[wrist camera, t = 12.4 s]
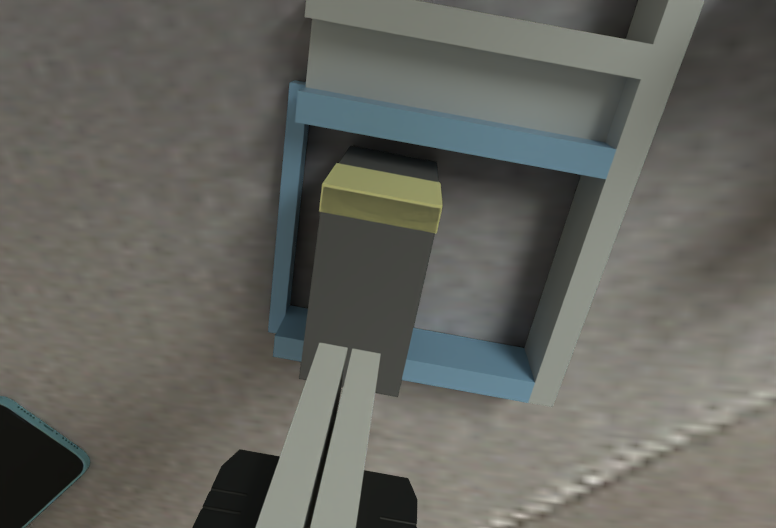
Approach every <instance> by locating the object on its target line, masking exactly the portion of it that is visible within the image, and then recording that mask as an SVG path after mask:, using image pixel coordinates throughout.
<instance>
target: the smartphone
mask: <svg viewBox="0 0 776 528" xmlns="http://www.w3.org/2000/svg"><path fill="white" fill-rule="evenodd" d="M89 465H90V459H89V456H88V455H87V454H86V453H85V452H84V451H83V450H82V449H81V448H79V447H78V446H76V445H75V444H74V443H72V442H71V441H69V440H68V439H67V438H65V437H64V436H62V435H61V434H60V433H58V432H57V431H55V430H54V429H53V428H51V427H50V426H48V425H47V424H46V423H44V422H43V421H41V420H40V419H39V418H37V417H36V416H34V415H33V414H31V413H30V412H29V411H27V410H26V409H24V408H23V407H21V406H20V405H19V404H17V403H16V402H14V401H13V400H11V399H9V398H7V397H4V396H0V528H25V527H26V526H27V525H28V524H29V523H30V522H31V521H33V520H34V519H35V518H36V517H37V516H38V515H39V514H40V513H41V512H42V511H44V510H45V509H46V508H47V507H48V506H49V505H50V504H51V503H52V502H53V501H55V500H56V499H57V498H58V497H59V496H60V495H61V494H62V493H63V492H64V491H66V490H67V489H68V488H69V487H70V486H71V485H72V484H73V483H74V482H75V481H76V480H78V479H79V478H80V477H81V476H82V475H83V474H84V472H85V471H86V470H87V468H88V467H89Z"/></svg>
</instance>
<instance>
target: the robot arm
mask: <svg viewBox="0 0 776 528" xmlns="http://www.w3.org/2000/svg"><path fill="white" fill-rule="evenodd" d="M347 350H348V348H347V347H341V346H336V345H330V344H325V343H319V345H318V348H317V351H316V354H315V357H314V360H313V363H312V366H311V369H310V371H309V374H308V377H307V380H306V383H305V386H304V389H303V392H302V395H301V397H300V400H299V403H298V406H297V409H296V412H295V415H294V418H293V421H292V423H291V426H290V429H289V432H288V435H287V438H286V441H285V444H284V447H283V450H282V452H281V455H280V457H279V456H274V455H268V454H263V453H257V452H251V451H246V450H239V451H238V452H236V453H235V454H234V455H233V456H232V457H231V458H230V459H229V460H228V461H227V462H225V463H224V464H223V465H222V466H221V468H220V471H219V473H218V475H217V477H216V479H215V481H214V483H213V485H212V488H211V491H210V492H209V494H208V496H207V498H206V500H205V502H204V504H203V508H202V509H201V511H200V513H199V515H198V517H197V519H196V521H195V523H194V526H193V528H417V527H416V524H417V498H416V495H415V493H414V491H413V488H412V486H411V484H410V481H409V479H408V478H404V477H398V476H393V475H387V474H382V473H376V472H371V471H365V470H364V467H365V460H366V453H367V446H368V439H369V432H370V425H371V418H372V411H373V404H374V397H375V390H376V383H377V376H378V369H379V362H380V355H381V354H380V353H374V352H369V351H363V350H358V349H352V352H351V357H350V361H349V365H348V369H347V374H346V378H345V382H344V386H343V391H342V395H341V399H340V393H341V387H342V381H343V374H344V368H345V362H346V356H347ZM339 399H340V403H339ZM338 405H339V408H338ZM337 411H338V412H337Z"/></svg>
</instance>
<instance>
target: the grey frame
mask: <svg viewBox="0 0 776 528" xmlns="http://www.w3.org/2000/svg"><path fill="white" fill-rule="evenodd" d="M704 2H705V0H638V3H637V6H636V9H635V12H634V15H633V18H632V21H631V24H630V27H629V30H628V33H627V36H626V39H622V38H616V37H611V36H605V35H600V34H595V33H589V32H584V31H579V30H573V29H568V28H562V27H557V26H552V25H546V24H541V23H536V22H530V21H525V20H519V19H514V18H509V17H503V16H498V15H493V14H487V13H482V12H476V11H471V10H466V9H460V8H455V7H449V6H444V5H439V4H433V3H428V2H423V1H417V0H306V8H305V17H307V18H312V26H311V36H310V46H309V56H308V66H307V76H306V82H302V81H297V80H294V81H292V82H290V84H289V96H288V107H287V119H286V131H285V142H284V154H283V165H282V177H281V188H280V200H279V211H278V223H277V235H276V246H275V258H274V269H273V281H272V292H271V304H270V315H269V327H268V332H271V333H276V334H275V340H274V351H273V357H278V358H284V359H289V360H295V361H300V362H301V360H302V352H303V344H304V336H305V328H306V320H307V312H308V309H307V308H302V307H296V306H291V305H290V301H291V291H292V282H293V272H294V263H295V253H296V244H297V234H298V224H299V215H300V205H301V196H302V186H303V176H304V167H305V157H306V148H307V138H308V129H309V125H313V126H319V127H324V128H330V129H335V130H341V131H346V132H351V133H357V134H362V135H368V136H373V137H379V138H384V139H389V140H395V141H400V142H406V143H411V144H417V145H422V146H427V147H433V148H438V149H444V150H449V151H455V152H460V153H466V154H471V155H476V156H482V157H487V158H493V159H498V160H504V161H509V162H514V163H520V164H525V165H531V166H536V167H542V168H547V169H552V170H558V171H563V172H569V173H574V174H580V175H581V177H580V180H579V183H578V186H577V189H576V192H575V195H574V198H573V201H572V204H571V207H570V210H569V213H568V216H567V219H566V222H565V226H564V229H563V232H562V235H561V238H560V241H559V244H558V247H557V250H556V253H555V256H554V259H553V262H552V265H551V268H550V271H549V274H548V277H547V280H546V284H545V287H544V290H543V293H542V296H541V299H540V302H539V305H538V308H537V311H536V314H535V317H534V320H533V323H532V326H531V329H530V332H529V335H528V338H527V342H526V345H525V348H522V347H516V346H511V345H505V344H500V343H494V342H489V341H483V340H478V339H472V338H467V337H461V336H456V335H450V334H445V333H439V332H434V331H428V330H423V329H417V328H413V332H412V337H411V341H410V346H409V350H408V354H407V359H406V363H405V368H404V372H403V376H402V380H405V381H410V382H416V383H421V384H427V385H432V386H438V387H444V388H449V389H455V390H460V391H466V392H471V393H477V394H482V395H488V396H493V397H499V398H504V399H510V400H515V401H521V402H526V403H532V404H537V405H543V406H548V407H553V405H554V402H555V399H556V397H557V394H558V391H559V389H560V386H561V383H562V381H563V378H564V375H565V373H566V370H567V367H568V365H569V362H570V359H571V357H572V354H573V351H574V349H575V346H576V343H577V340H578V338H579V335H580V332H581V330H582V327H583V324H584V322H585V319H586V316H587V314H588V311H589V308H590V306H591V303H592V300H593V298H594V295H595V292H596V290H597V287H598V284H599V282H600V279H601V276H602V274H603V271H604V268H605V266H606V263H607V260H608V258H609V255H610V252H611V250H612V247H613V244H614V242H615V239H616V236H617V234H618V231H619V228H620V226H621V223H622V220H623V218H624V215H625V212H626V210H627V207H628V204H629V202H630V199H631V196H632V194H633V191H634V188H635V186H636V183H637V180H638V178H639V175H640V172H641V170H642V167H643V164H644V162H645V159H646V156H647V154H648V151H649V148H650V146H651V143H652V140H653V138H654V135H655V132H656V130H657V127H658V124H659V122H660V119H661V116H662V114H663V111H664V108H665V106H666V103H667V100H668V98H669V95H670V92H671V90H672V87H673V84H674V82H675V79H676V76H677V74H678V71H679V68H680V66H681V63H682V60H683V58H684V55H685V52H686V50H687V47H688V44H689V42H690V39H691V36H692V34H693V31H694V28H695V26H696V23H697V20H698V18H699V15H700V12H701V10H702V7H703V4H704Z"/></svg>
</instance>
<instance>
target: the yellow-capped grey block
mask: <svg viewBox="0 0 776 528" xmlns="http://www.w3.org/2000/svg"><path fill="white" fill-rule="evenodd" d="M442 207H443V205H442V194H441V183H440V182H438V171H437V162H435V161H429V160H424V159H419V158H414V157H408V156H403V155H398V154H393V153H387V152H382V151H377V150H371V149H366V148H361V147H356V146H350V147H349V149H348V150H347V152H346V153H345V155H344V156H343V158H342V159H341V161H340V162H339V163H336V164H335V166H334V167H333V169H332V170H331V172H330V173H329V175H328V176H327V178H326V179H325V180H324V182H323V183H322V191H321V199H320V207H319V211H320V218H319V226H318V234H317V242H316V250H315V258H314V265H313V273H312V281H311V289H310V297H309V305H308V312H307V320H306V328H305V336H304V344H303V352H302V360H301V367H300V375H299V379H303V380H307V377H308V374H309V371H310V369H311V366H312V363H313V360H314V357H315V354H316V351H317V348H318V345H319V343H325V344H330V345H336V346H341V347H347V348H348V350H347V356H346V362H345V368H344V374H343V381H342V387H343V386H344V382H345V378H346V374H347V369H348V365H349V361H350V357H351V352H352V349H358V350H363V351H369V352H374V353H380V354H381V355H380V362H379V369H378V376H377V383H376V390H375V393H378V394H384V395H389V396H395V397H398V394H399V390H400V385H401V381H402V376H403V372H404V368H405V363H406V359H407V354H408V350H409V346H410V341H411V337H412V332H413V328H414V323H415V319H416V315H417V310H418V306H419V301H420V297H421V293H422V288H423V284H424V279H425V275H426V271H427V266H428V262H429V257H430V253H431V248H432V244H433V240H434V235H435V233H437V229H438V224H439V220H440V215H441V211H442Z"/></svg>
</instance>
